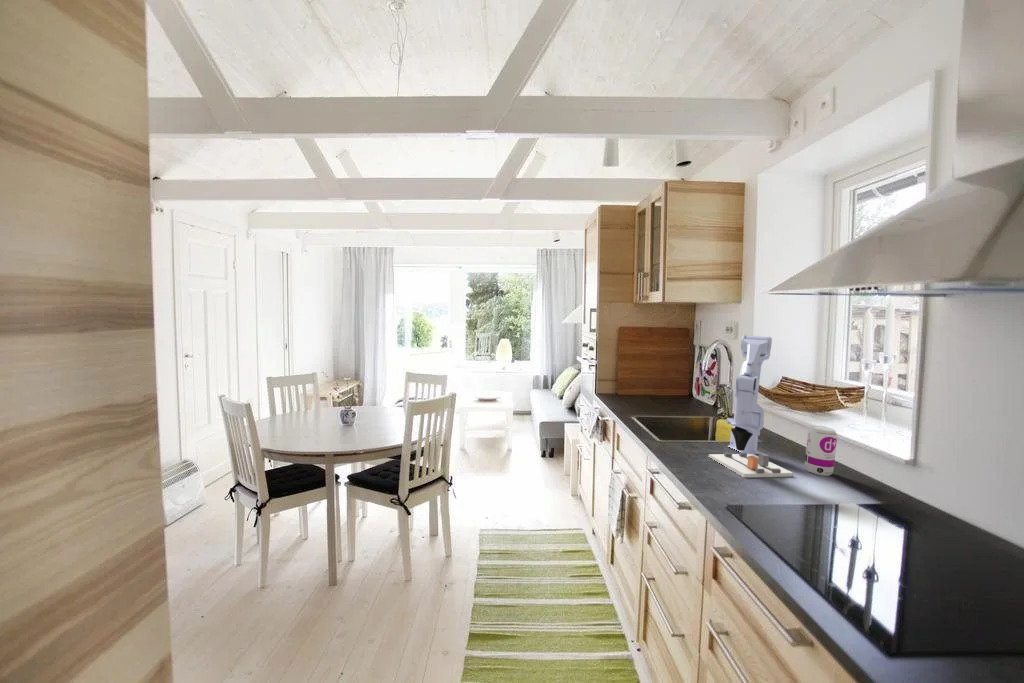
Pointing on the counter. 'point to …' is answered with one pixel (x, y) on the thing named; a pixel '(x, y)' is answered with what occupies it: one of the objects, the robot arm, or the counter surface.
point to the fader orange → (752, 462)
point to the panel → (740, 467)
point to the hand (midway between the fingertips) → (740, 449)
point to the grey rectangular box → (763, 459)
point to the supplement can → (820, 450)
